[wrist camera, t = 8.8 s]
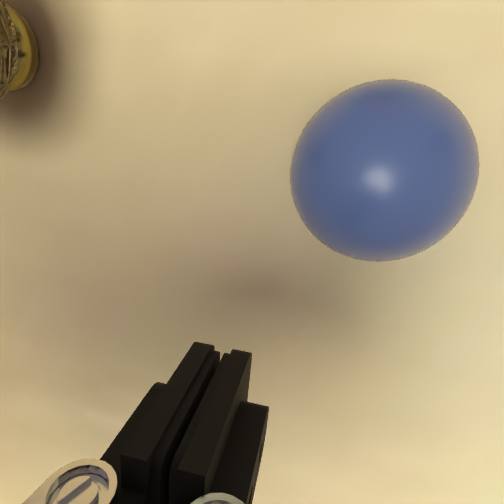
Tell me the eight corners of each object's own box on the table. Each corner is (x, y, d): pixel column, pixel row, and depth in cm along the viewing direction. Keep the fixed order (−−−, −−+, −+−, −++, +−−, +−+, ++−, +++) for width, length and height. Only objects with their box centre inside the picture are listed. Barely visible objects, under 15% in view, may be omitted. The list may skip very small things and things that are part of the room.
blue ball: (514, 50, 7) (405, 32, 12) (268, 178, 8) (256, 118, 13) (535, 249, 10) (440, 172, 14) (347, 322, 11) (314, 231, 16)
